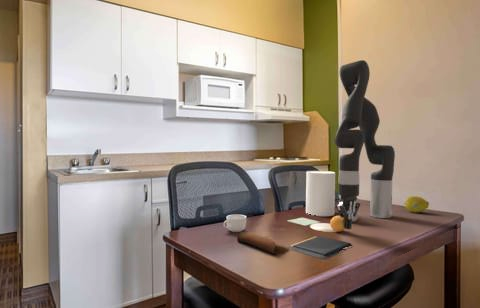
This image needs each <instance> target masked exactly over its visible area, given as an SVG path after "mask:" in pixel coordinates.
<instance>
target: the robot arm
mask: <svg viewBox="0 0 480 308" xmlns="http://www.w3.org/2000/svg"><path fill="white" fill-rule="evenodd" d="M338 72H339V77H340V81H341V84H342V86H343V88H344V90H345V93H346V95H347V97H348V98H347V100H346V101H345V103H344V105H343V109H342V116H341V122H340V124H339V126H338V129H337V131H336V133H335V137H334V144H335V145H336V147H337V148H338V149H353V151H352V152H351V153H347V154H342V155H340V156H339V161H338V162H339V165H338V166H339V169H338V176H337V177H338V182H337V183H338V185H337V194H338V195H339V204H336V205H335V209H336V210H337V213H338V216H339V215H340V217H342V218H344V228H345V229H346V230H352V223H353V222H352V219H353V217H355V216H356V214H357V215H358V211H359V209H360V207H361V203H360V202H358V203H357V199H356V196H357V197H358V196H359V195H360V158H361V153H362V149H363V146H364V147H365V153H366V156H367V159H368V161H369V163H370V164H372V165H375V166H377V165H379V166H381V169H380V170H377V171H374V172H372V173H371V174H370V197H369V198H370V202H369V203H370V204H369V206H370V207H369V216H371V217H374V218H380V219H390V218H392V216H393V176H394V172H395V171H394V168H395V158H396V157H395V156H396V155H395V154H396V153H395V152H396V151H395V148H394V147H393V146H392V145H390V144H389V145H387V144H385V145H384V144H382V145H381V144H379V145H378V144H377V142H376V138H375V137H376V136H375V135H376V133H377V131H378V128H379V126H380V122H381V120H380V116H379V113H378V110H377V107H376V105H375V104H374V103H373V102H371V100H370V99H368V98H366V97H365V96H366V93H367V89H368V84H369V82H370V81H369V80H370V75H371V74H370V66H369V64H368V62H367V61H366V60H363V59H361V60H357V61H353V62H349V63H346V64H343V65H341V66H340V68H339V71H338ZM356 128H358V129H356ZM340 196H341V198H340ZM345 229H344V230H345Z"/></svg>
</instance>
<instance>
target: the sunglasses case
mask: <svg viewBox="0 0 480 308" xmlns="http://www.w3.org/2000/svg"><path fill="white" fill-rule="evenodd" d="M237 242H240V243H244V244H247V245H250V246H252V247H255V248H258V249H261V250H263V251H265V252H268V253H271V254H273V255H274V256H277V255H281V254H284V253H286V252H290V251H291V250H290V249H288V248H287V247H288V246H285V245H284V244H282V243H280V242H279V241H278V242H277V241H275V240H274V239H273V238H272V237H270V236H267V235H264V234H261V233H258V232H254V231H253V232H252V231H241V232H239V234H237Z"/></svg>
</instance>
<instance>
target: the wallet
mask: <svg viewBox="0 0 480 308" xmlns="http://www.w3.org/2000/svg"><path fill="white" fill-rule="evenodd" d="M352 245H353V244H352V243H351V242H347V241H344V240H340V239H335V238H332V237H327V236H323V235H316V236H313V237H310V238H307V239H304V240H301V241H300V242H297V243H294V244H292V245H289V246H286V247H287V248H288V249H289V250H290V251H292V252H297V253H298V254H299V253H300V254H302V255H305V256H310V257H313V258H317V259H320V260H327V258H328V259H330V258H332V257H334V256H336V255H338V254H340V253H341V252H340V251H342V250H344V251H346V249H343V248H345V247H349V246H352ZM339 252H340V253H339ZM342 252H343V251H342ZM337 253H338V254H337Z"/></svg>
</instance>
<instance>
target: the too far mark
mask: <svg viewBox="0 0 480 308" xmlns="http://www.w3.org/2000/svg"><path fill="white" fill-rule="evenodd" d="M287 222H289V223H293V224H297V225H300V226H304V227H305V226H310V225H312V224H316V223H321V221H319V220H314V219H309V218H307V217H306V218H305V217H298V218H294V219H288V220H287Z"/></svg>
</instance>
